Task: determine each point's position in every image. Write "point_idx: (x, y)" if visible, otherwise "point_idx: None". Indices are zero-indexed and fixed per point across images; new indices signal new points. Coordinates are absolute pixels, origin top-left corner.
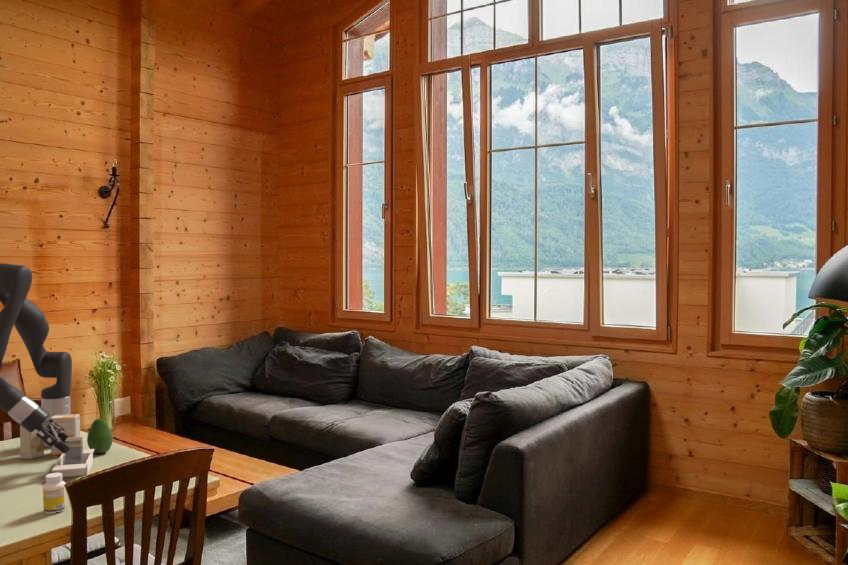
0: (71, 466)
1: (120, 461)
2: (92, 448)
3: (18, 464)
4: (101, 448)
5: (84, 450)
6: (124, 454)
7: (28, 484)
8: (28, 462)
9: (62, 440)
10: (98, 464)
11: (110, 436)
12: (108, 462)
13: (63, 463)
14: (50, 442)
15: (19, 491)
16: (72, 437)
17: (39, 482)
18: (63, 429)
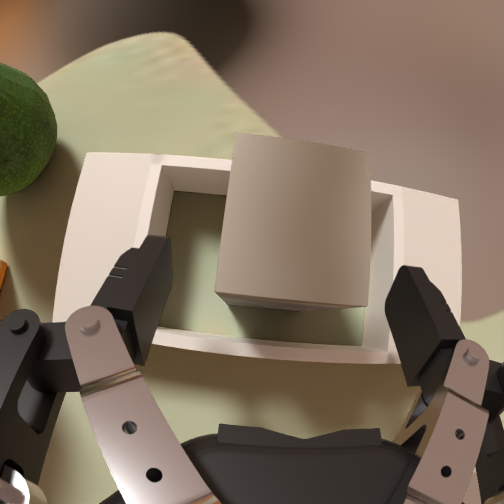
0: (427, 266)
1: (206, 78)
2: (34, 175)
3: (74, 498)
4: (55, 135)
5: (92, 201)
6: (107, 74)
7: None
8: (53, 464)
9: (149, 340)
10: (211, 156)
11: (27, 75)
12: (197, 117)
13: None
14: (498, 415)
15: None
16: (222, 230)
17: (408, 407)
18: (24, 329)
